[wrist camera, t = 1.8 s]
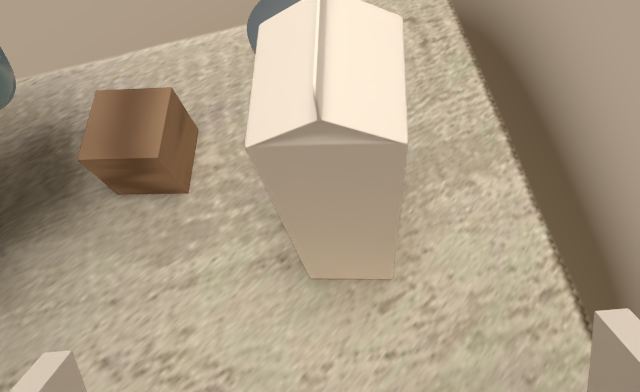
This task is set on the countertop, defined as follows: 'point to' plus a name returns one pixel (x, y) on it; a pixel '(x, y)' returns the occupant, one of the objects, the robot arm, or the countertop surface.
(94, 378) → the countertop surface
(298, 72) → the milk
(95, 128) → the walnut block
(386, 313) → the countertop surface
